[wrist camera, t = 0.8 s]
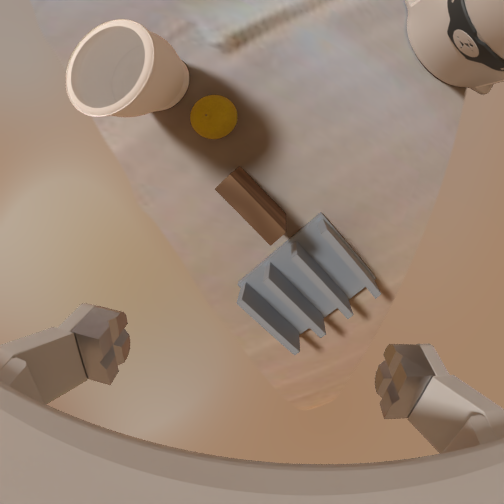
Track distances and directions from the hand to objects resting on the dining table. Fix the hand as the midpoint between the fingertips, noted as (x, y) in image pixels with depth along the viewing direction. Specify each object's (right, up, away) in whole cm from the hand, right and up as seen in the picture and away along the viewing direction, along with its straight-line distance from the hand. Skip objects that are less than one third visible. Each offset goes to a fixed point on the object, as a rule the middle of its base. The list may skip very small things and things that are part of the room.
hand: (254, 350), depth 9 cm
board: (+1, +10, +33) cm, 35 cm away
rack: (+8, -1, +37) cm, 38 cm away
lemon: (-4, +21, +30) cm, 36 cm away
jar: (-13, +26, +28) cm, 41 cm away
